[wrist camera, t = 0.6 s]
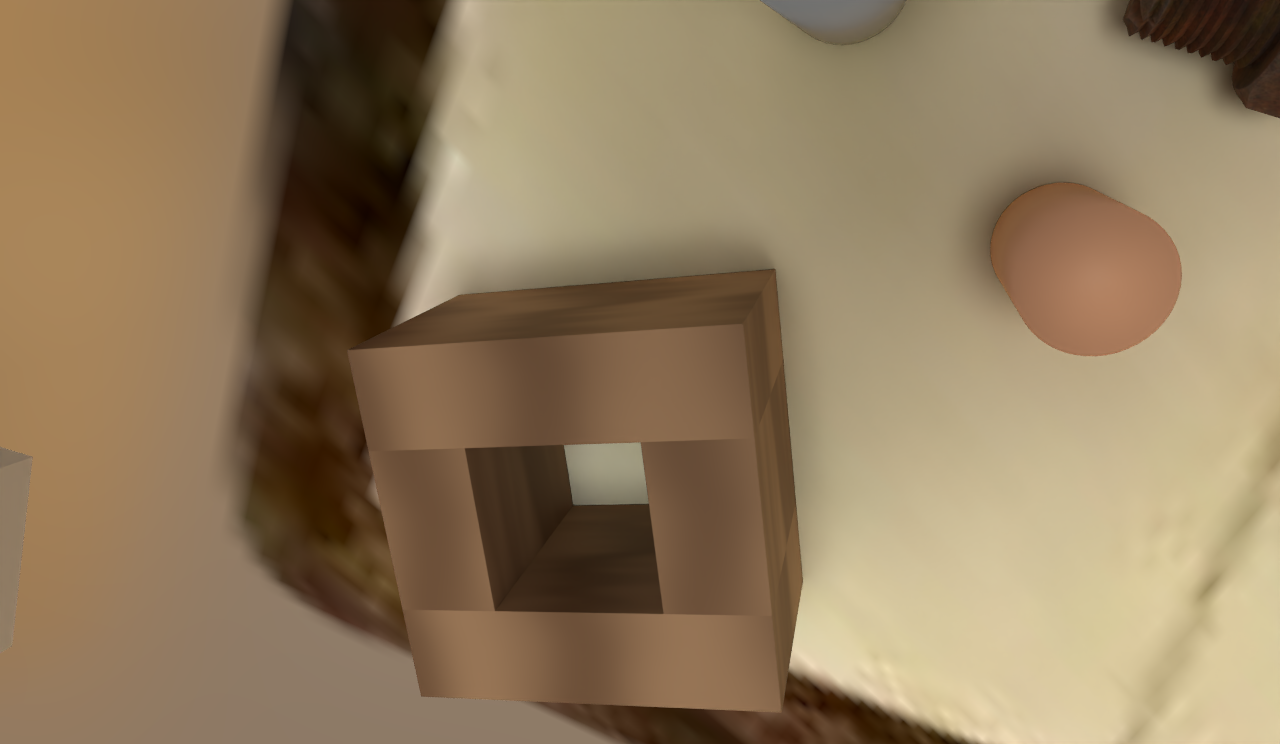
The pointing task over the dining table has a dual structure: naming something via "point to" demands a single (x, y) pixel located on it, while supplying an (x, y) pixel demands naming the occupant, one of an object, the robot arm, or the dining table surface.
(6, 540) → the robot arm
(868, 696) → the dining table surface
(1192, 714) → the dining table surface
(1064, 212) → the short dowel
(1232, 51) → the bolt
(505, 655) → the hole block
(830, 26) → the long dowel
